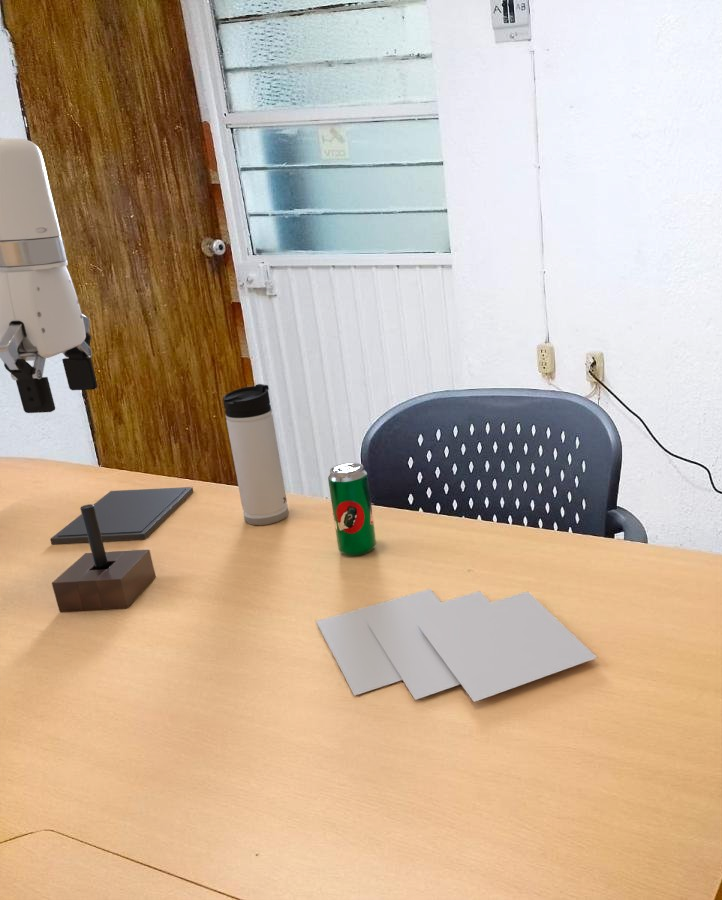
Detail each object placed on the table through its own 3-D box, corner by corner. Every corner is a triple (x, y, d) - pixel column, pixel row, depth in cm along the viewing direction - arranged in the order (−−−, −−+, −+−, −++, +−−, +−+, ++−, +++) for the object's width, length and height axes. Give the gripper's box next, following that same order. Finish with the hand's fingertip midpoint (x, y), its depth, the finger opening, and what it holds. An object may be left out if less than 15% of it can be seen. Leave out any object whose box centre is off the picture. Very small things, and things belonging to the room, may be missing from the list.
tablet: (51, 544, 118) (49, 538, 118) (111, 495, 135) (110, 490, 135) (145, 539, 119) (143, 533, 119) (193, 491, 136) (192, 486, 136)
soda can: (383, 548, 114) (373, 467, 110) (350, 561, 111) (338, 478, 107) (365, 537, 118) (354, 458, 114) (332, 549, 114) (320, 468, 110)
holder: (59, 612, 100) (51, 582, 99) (92, 580, 108) (85, 552, 106) (127, 608, 101) (120, 579, 99) (155, 576, 108) (149, 549, 107)
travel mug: (299, 512, 127) (279, 386, 120) (263, 529, 121) (240, 397, 115) (272, 505, 130) (251, 381, 123) (235, 520, 124) (211, 392, 118)
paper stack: (378, 742, 76) (377, 736, 76) (315, 621, 96) (315, 616, 96) (597, 663, 87) (597, 657, 87) (499, 569, 107) (499, 564, 107)
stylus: (100, 597, 103) (77, 509, 99) (105, 591, 105) (83, 504, 101) (112, 596, 103) (90, 508, 99) (117, 590, 105) (95, 503, 101)
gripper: (35, 248, 102) (68, 383, 107) (-60, 265, 85) (-15, 423, 91) (98, 246, 102) (128, 380, 108) (16, 263, 86) (56, 420, 92)
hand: (63, 400), depth 100 cm, fingers open, 9 cm apart
